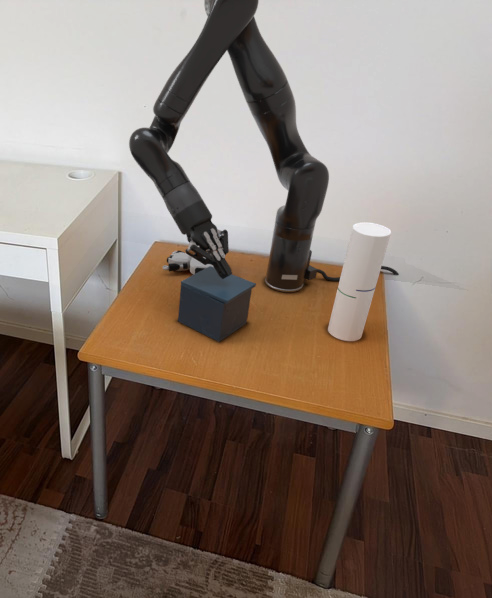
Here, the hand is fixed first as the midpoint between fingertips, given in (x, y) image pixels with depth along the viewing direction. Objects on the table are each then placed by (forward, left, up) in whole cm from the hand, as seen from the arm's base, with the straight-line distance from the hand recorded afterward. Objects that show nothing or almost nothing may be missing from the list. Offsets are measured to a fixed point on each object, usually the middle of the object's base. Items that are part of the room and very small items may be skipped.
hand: (227, 276), depth 124 cm
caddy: (+1, -2, -13) cm, 13 cm away
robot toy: (-11, -25, -13) cm, 30 cm away
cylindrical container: (-23, +15, -13) cm, 30 cm away
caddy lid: (0, -2, -3) cm, 4 cm away
